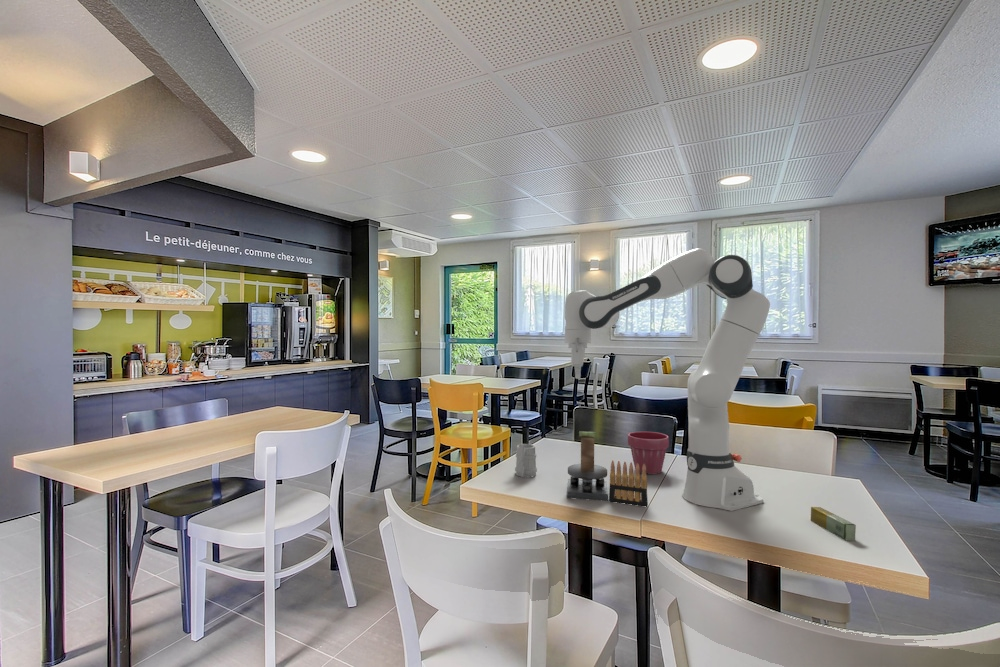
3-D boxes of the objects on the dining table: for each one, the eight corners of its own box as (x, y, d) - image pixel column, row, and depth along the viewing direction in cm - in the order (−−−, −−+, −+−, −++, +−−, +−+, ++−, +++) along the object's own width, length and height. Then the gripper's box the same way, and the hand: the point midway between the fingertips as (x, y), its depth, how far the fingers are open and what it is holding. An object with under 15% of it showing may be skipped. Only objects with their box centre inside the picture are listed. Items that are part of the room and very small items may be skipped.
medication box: (856, 541, 108) (857, 524, 108) (845, 541, 108) (845, 524, 108) (819, 521, 120) (819, 506, 120) (809, 521, 120) (809, 505, 120)
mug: (539, 472, 161) (539, 438, 161) (531, 482, 150) (531, 445, 150) (518, 470, 163) (518, 436, 163) (509, 480, 152) (509, 444, 152)
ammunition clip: (608, 501, 133) (608, 460, 133) (609, 499, 134) (609, 459, 134) (647, 507, 128) (647, 464, 129) (647, 504, 130) (647, 463, 130)
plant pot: (622, 465, 170) (622, 430, 170) (658, 464, 171) (659, 430, 171) (635, 476, 156) (636, 439, 156) (675, 476, 157) (675, 439, 157)
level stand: (606, 487, 145) (606, 470, 145) (608, 501, 133) (608, 482, 133) (568, 485, 147) (568, 468, 147) (566, 498, 135) (567, 480, 135)
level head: (606, 468, 145) (606, 428, 145) (608, 480, 133) (608, 437, 133) (568, 466, 147) (568, 426, 147) (567, 478, 135) (567, 435, 135)
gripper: (586, 338, 145) (587, 381, 145) (587, 338, 165) (587, 376, 165) (567, 338, 146) (567, 381, 146) (569, 338, 167) (569, 375, 166)
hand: (577, 378), depth 156 cm, fingers closed
